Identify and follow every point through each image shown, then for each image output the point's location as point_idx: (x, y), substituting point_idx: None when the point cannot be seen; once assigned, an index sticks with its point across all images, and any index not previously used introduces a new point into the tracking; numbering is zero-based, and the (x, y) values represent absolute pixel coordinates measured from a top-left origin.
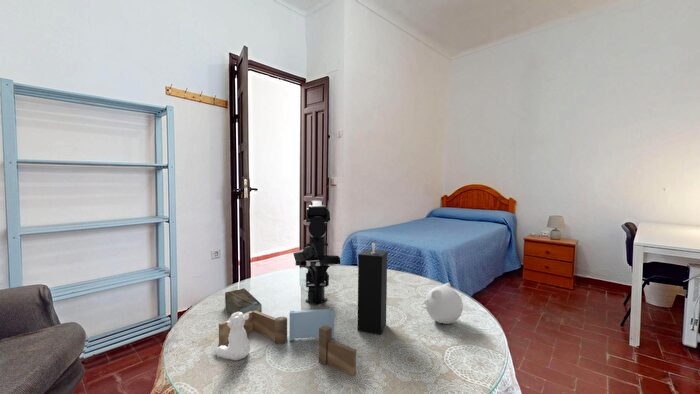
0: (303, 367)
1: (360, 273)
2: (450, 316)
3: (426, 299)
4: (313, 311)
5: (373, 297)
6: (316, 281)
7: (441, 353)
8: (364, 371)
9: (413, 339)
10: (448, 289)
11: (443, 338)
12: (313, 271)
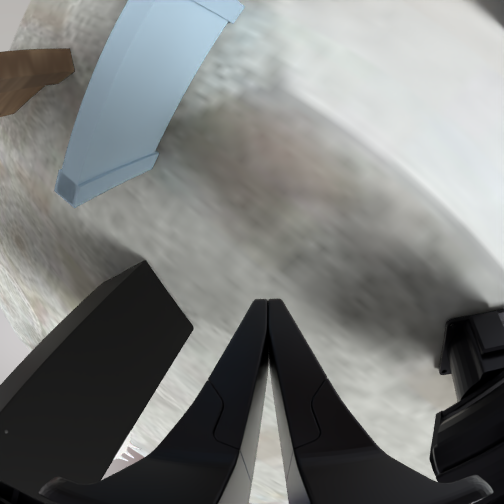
0: (76, 4)
1: None
2: None
3: None
4: (89, 90)
5: (35, 352)
6: (231, 339)
7: (26, 294)
8: (13, 134)
9: (67, 311)
10: None
11: None
12: (291, 459)
